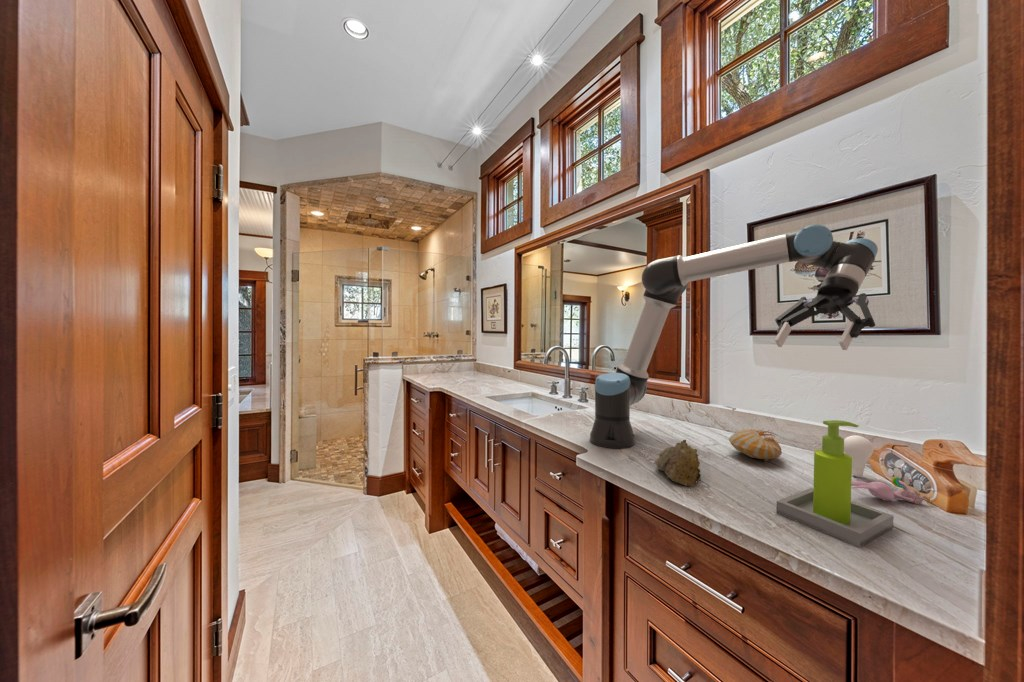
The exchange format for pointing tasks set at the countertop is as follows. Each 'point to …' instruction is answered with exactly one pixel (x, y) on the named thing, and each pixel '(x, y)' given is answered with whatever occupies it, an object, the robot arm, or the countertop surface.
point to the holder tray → (857, 532)
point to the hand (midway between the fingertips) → (808, 344)
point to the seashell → (680, 463)
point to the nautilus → (755, 444)
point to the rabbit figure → (891, 491)
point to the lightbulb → (858, 452)
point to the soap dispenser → (833, 476)
